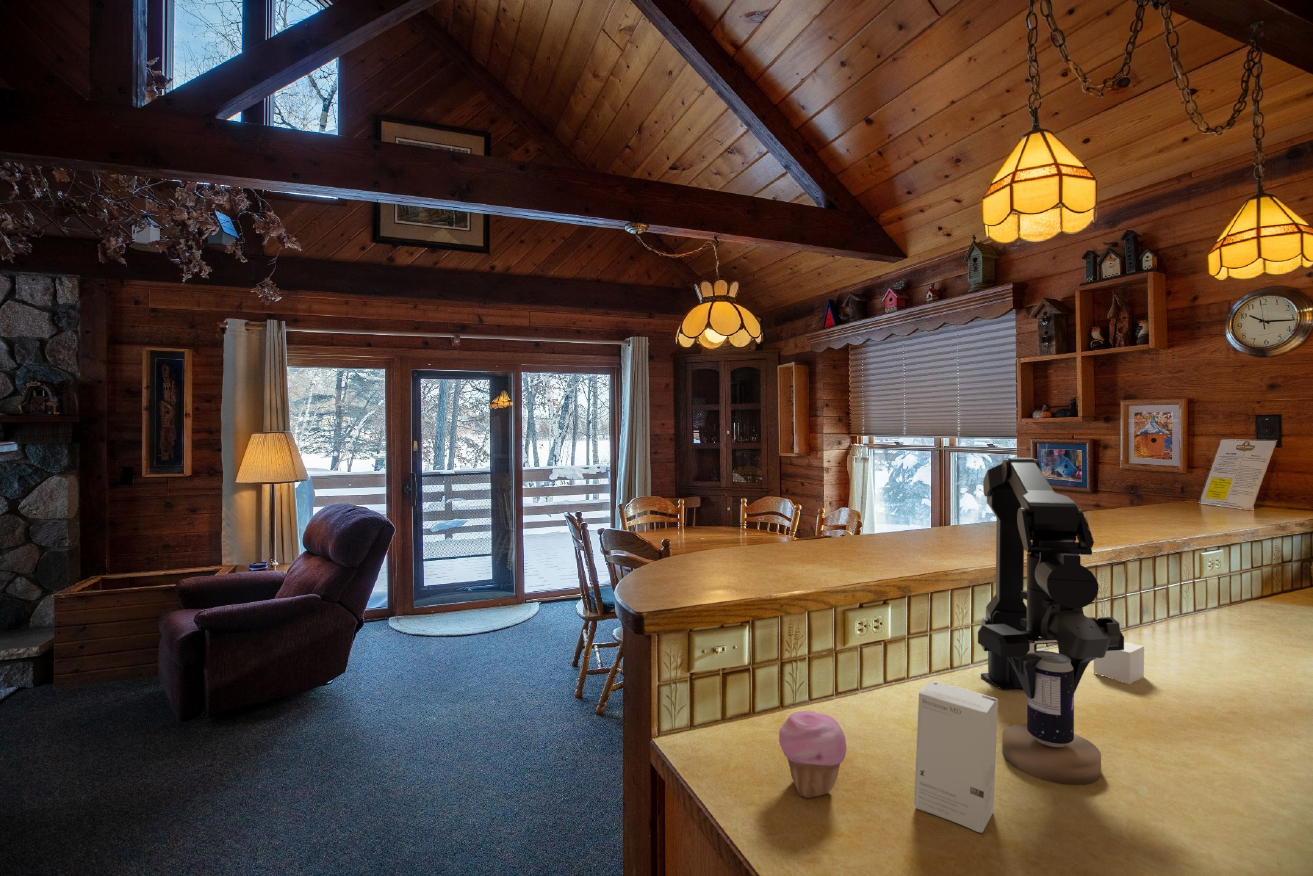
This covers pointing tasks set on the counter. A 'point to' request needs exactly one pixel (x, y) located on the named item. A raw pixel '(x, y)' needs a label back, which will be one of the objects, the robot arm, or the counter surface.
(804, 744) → the cupcake
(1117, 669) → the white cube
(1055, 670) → the beverage can
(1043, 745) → the walnut base
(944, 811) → the skincare box
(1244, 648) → the counter surface
